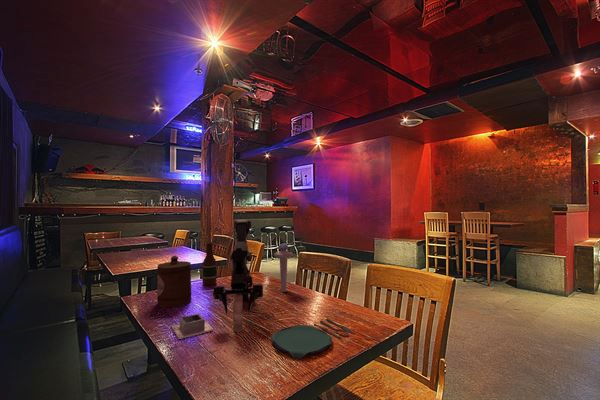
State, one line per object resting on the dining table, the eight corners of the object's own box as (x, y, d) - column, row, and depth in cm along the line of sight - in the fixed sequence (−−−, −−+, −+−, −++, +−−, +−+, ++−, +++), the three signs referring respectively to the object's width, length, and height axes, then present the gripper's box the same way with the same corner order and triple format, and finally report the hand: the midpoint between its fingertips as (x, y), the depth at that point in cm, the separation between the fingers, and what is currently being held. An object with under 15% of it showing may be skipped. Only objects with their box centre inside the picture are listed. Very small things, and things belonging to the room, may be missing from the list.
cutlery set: (260, 340, 99) (261, 333, 99) (325, 320, 117) (325, 314, 117) (295, 367, 83) (295, 359, 83) (363, 339, 102) (363, 332, 102)
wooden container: (160, 298, 142) (160, 254, 142) (192, 295, 146) (192, 252, 146) (154, 309, 128) (154, 259, 128) (189, 306, 132) (189, 258, 132)
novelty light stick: (287, 295, 146) (287, 246, 146) (270, 292, 151) (270, 245, 151) (296, 289, 155) (296, 243, 155) (280, 287, 160) (280, 242, 160)
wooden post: (231, 328, 108) (231, 295, 108) (240, 326, 110) (240, 293, 110) (235, 332, 105) (235, 298, 105) (244, 329, 107) (244, 296, 107)
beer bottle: (219, 283, 169) (219, 242, 169) (211, 286, 161) (211, 244, 162) (208, 281, 171) (208, 241, 171) (199, 285, 164) (199, 243, 164)
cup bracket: (171, 327, 109) (171, 317, 109) (203, 320, 116) (203, 310, 116) (178, 340, 99) (178, 328, 99) (213, 331, 106) (213, 320, 106)
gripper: (213, 265, 110) (208, 304, 99) (262, 263, 113) (263, 301, 102) (216, 280, 118) (212, 318, 107) (262, 278, 121) (263, 315, 110)
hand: (237, 313), depth 106 cm, fingers open, 8 cm apart
